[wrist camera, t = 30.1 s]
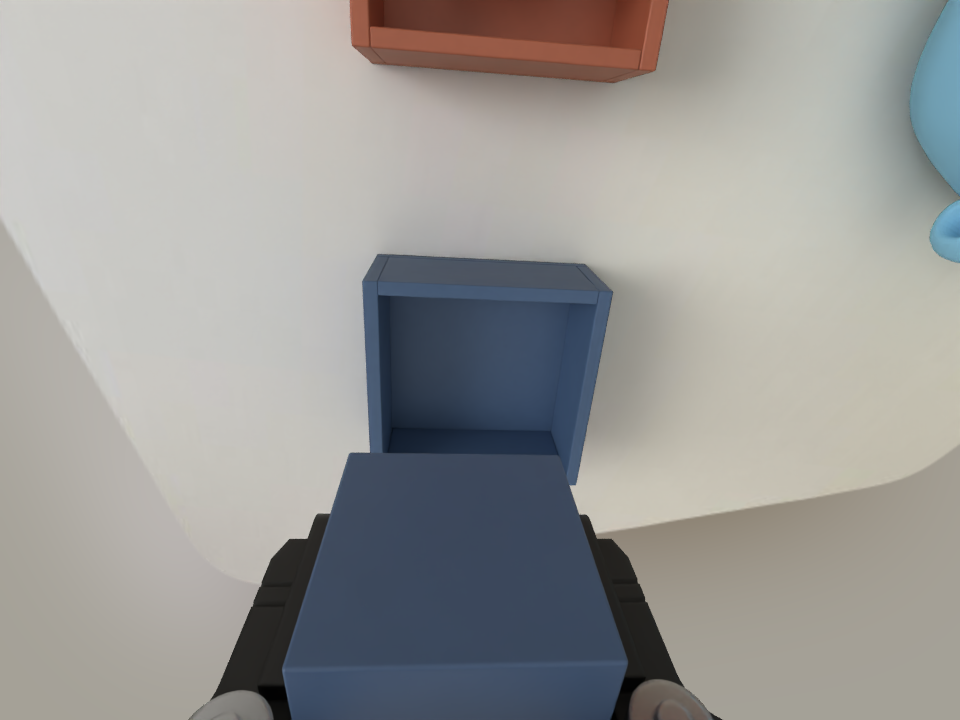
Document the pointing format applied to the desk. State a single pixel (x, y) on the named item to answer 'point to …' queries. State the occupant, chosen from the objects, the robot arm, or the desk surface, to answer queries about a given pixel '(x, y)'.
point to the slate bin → (482, 355)
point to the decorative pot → (941, 119)
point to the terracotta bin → (514, 36)
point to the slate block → (454, 597)
